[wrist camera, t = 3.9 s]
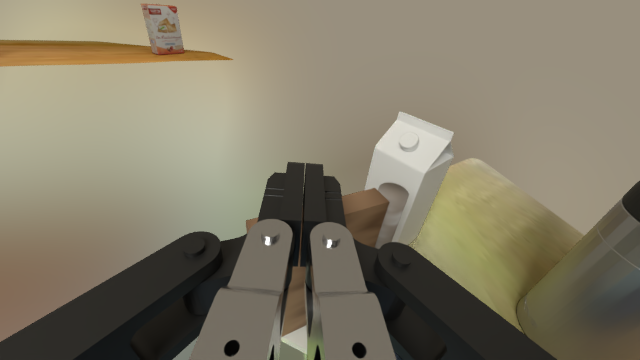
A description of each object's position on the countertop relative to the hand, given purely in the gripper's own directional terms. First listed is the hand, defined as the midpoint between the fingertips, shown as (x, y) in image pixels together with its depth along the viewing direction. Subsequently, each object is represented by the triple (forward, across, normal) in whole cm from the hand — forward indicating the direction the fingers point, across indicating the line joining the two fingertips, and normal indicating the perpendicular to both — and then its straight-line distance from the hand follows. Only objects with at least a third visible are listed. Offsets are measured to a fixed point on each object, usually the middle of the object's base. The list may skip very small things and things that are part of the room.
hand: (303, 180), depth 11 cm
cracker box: (+139, +72, +23) cm, 158 cm away
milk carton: (+19, -14, +23) cm, 33 cm away
